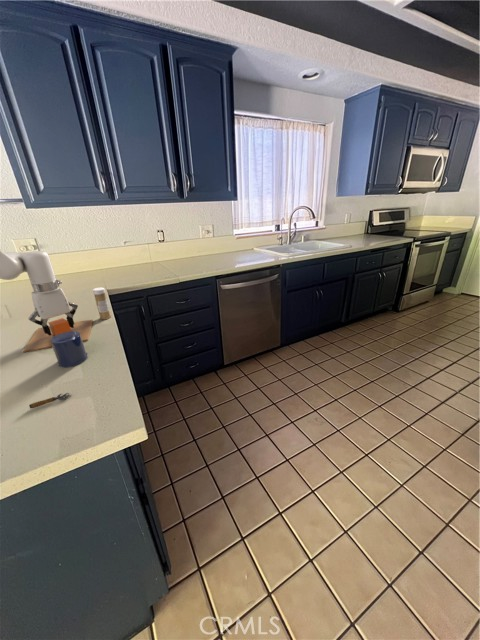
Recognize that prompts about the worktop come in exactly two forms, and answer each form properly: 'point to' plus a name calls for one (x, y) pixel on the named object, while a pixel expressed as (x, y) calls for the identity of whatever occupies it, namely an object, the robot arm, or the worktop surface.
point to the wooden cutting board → (43, 340)
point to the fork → (49, 400)
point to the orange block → (59, 326)
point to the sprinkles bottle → (101, 303)
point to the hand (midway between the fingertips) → (60, 330)
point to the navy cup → (69, 349)
